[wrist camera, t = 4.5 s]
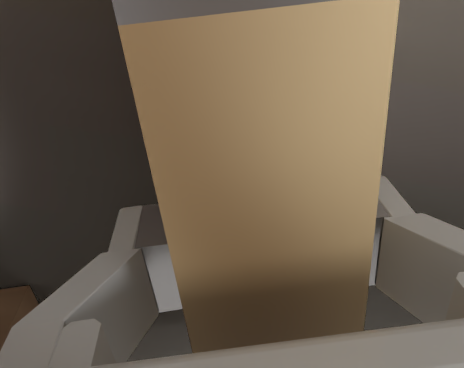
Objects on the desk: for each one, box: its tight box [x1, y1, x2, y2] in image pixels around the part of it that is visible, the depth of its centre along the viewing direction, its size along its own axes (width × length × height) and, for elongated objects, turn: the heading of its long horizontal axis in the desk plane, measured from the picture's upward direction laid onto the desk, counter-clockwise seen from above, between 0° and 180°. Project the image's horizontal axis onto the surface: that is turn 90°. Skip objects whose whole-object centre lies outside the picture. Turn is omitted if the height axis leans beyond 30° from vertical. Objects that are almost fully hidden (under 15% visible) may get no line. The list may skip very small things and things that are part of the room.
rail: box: [112, 0, 400, 353], centre depth 9 cm, size 3×13×5 cm, turn 6°
